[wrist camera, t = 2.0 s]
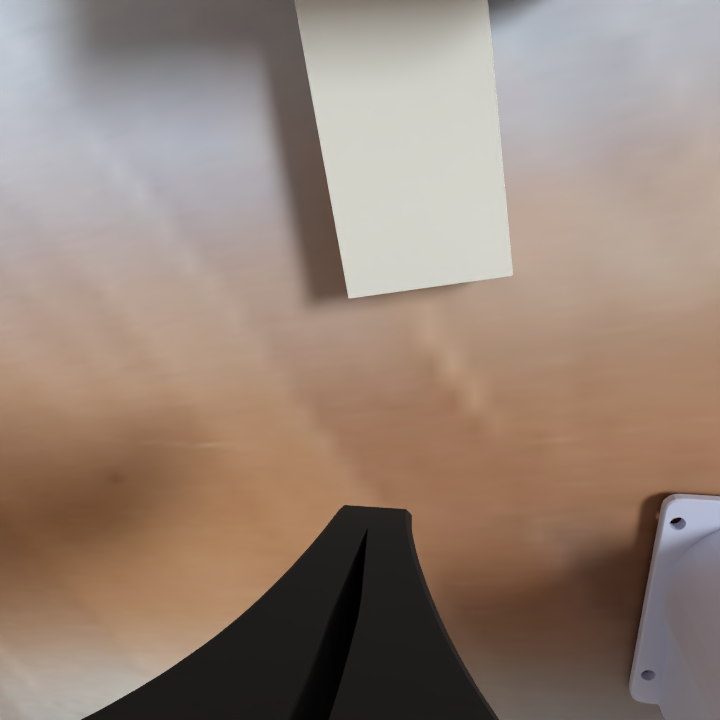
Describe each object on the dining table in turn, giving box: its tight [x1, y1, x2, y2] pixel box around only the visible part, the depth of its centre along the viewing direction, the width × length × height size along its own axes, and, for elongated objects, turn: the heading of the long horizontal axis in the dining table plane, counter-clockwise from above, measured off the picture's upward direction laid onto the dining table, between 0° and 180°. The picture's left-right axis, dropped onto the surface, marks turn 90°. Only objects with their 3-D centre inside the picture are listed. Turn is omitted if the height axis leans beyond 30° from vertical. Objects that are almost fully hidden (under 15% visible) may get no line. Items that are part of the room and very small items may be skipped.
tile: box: [294, 0, 513, 299], centre depth 17 cm, size 9×5×2 cm, turn 10°
